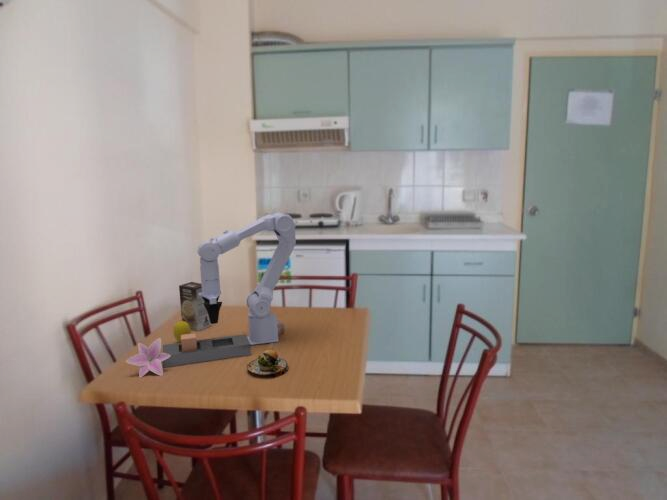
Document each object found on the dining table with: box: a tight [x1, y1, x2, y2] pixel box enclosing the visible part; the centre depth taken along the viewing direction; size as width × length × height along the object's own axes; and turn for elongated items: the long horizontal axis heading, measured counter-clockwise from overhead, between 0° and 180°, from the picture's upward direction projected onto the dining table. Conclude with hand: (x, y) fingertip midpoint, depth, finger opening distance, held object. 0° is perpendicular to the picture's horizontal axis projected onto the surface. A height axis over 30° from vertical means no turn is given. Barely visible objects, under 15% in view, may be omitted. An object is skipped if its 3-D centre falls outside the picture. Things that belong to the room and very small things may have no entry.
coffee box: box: [178, 281, 212, 332], centre depth 181 cm, size 9×6×16 cm
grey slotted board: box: [162, 333, 252, 368], centre depth 154 cm, size 26×10×4 cm, turn 108°
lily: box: [125, 337, 171, 378], centre depth 143 cm, size 11×11×9 cm
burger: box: [246, 345, 289, 378], centre depth 142 cm, size 12×12×8 cm
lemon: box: [173, 319, 192, 343], centre depth 165 cm, size 6×6×8 cm
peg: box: [180, 332, 197, 351], centre depth 152 cm, size 4×4×7 cm
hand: (213, 319), depth 159 cm, fingers open, 7 cm apart
